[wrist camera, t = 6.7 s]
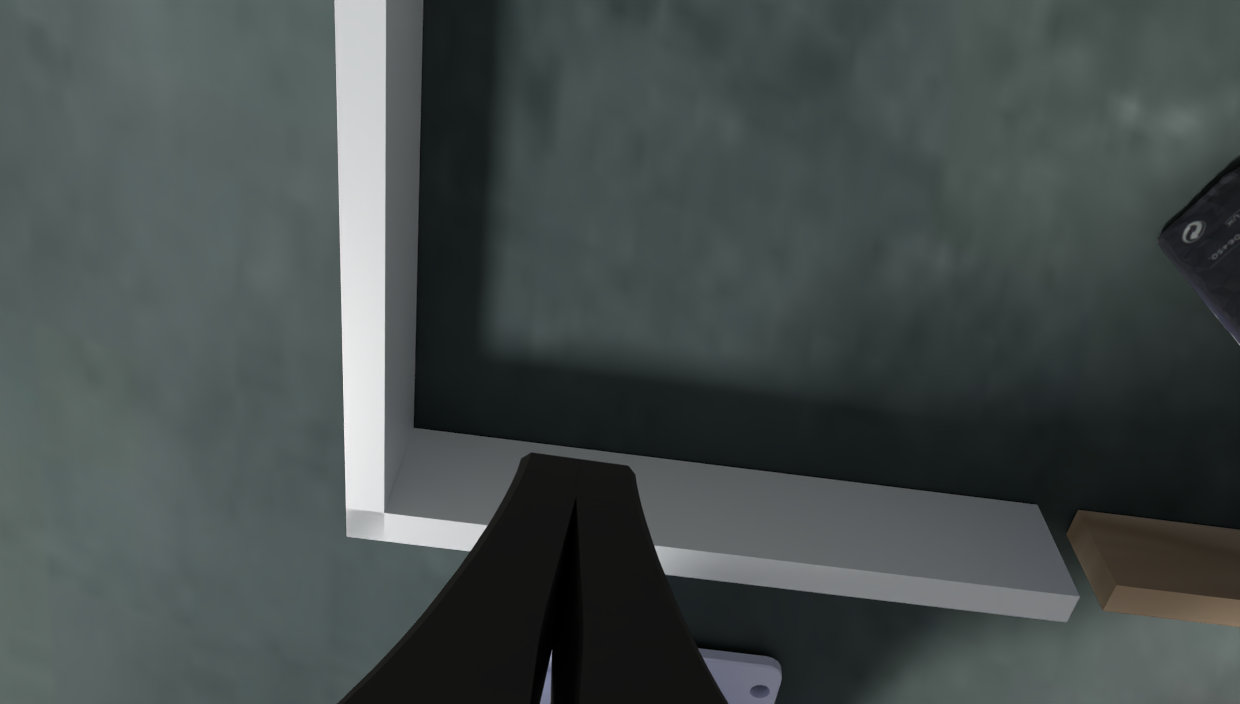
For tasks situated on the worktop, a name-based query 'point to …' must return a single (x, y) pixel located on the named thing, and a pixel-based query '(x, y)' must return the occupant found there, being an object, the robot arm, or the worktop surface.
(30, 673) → the worktop surface
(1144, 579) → the block
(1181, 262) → the small box
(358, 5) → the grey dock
